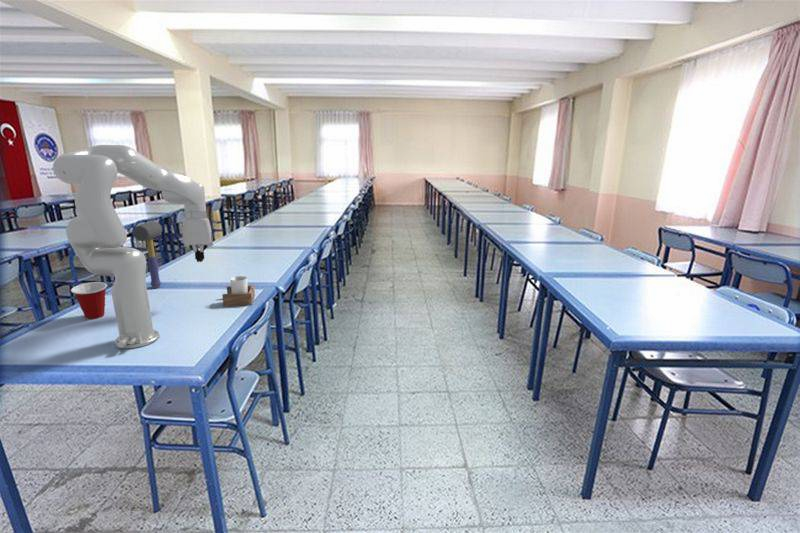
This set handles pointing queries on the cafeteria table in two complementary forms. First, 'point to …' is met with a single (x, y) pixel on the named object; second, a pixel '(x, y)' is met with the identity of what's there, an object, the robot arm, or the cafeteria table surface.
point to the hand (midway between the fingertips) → (200, 261)
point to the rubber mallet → (150, 247)
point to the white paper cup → (239, 284)
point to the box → (239, 297)
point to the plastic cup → (91, 298)
